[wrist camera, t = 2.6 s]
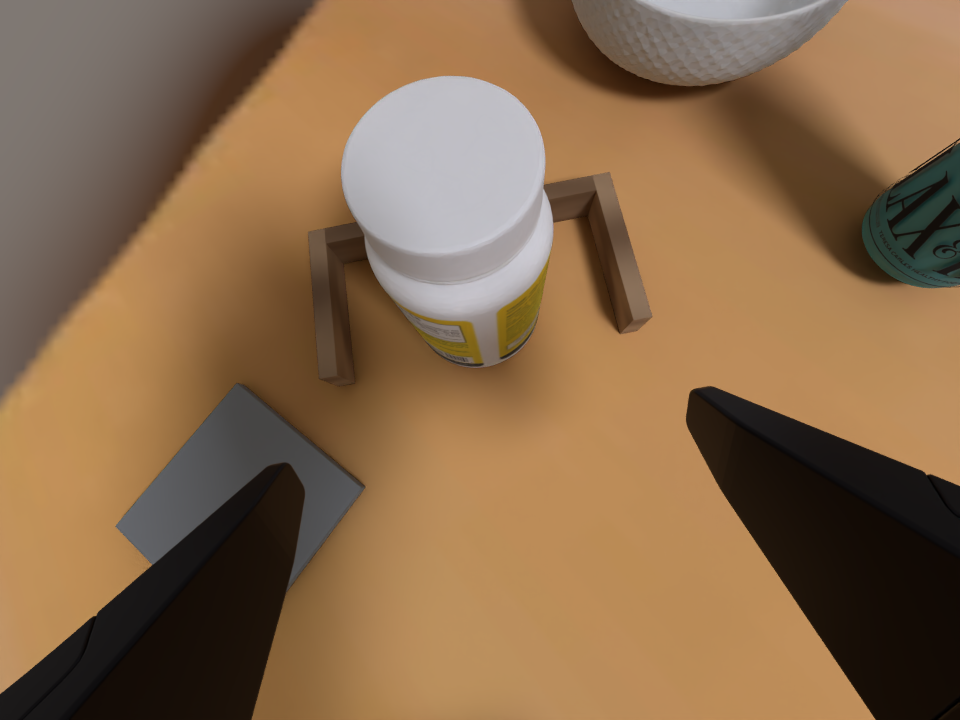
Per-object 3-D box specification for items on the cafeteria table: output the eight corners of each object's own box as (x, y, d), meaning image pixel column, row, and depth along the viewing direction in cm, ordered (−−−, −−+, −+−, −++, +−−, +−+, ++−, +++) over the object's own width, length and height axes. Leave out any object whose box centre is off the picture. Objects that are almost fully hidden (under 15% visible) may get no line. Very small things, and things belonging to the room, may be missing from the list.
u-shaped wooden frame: (636, 330, 23) (652, 316, 20) (338, 386, 23) (319, 378, 21) (599, 199, 25) (609, 171, 22) (327, 252, 25) (308, 231, 23)
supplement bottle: (520, 246, 24) (534, 32, 12) (551, 353, 23) (604, 235, 10) (408, 274, 24) (305, 91, 12) (430, 382, 23) (337, 301, 10)
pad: (365, 486, 22) (361, 488, 21) (245, 646, 20) (237, 652, 20) (243, 384, 24) (236, 382, 23) (125, 524, 22) (115, 526, 22)
